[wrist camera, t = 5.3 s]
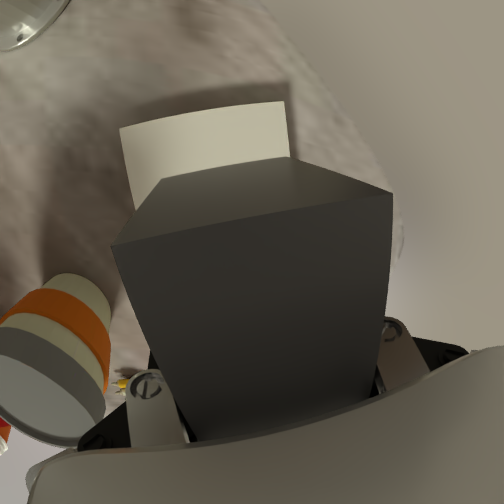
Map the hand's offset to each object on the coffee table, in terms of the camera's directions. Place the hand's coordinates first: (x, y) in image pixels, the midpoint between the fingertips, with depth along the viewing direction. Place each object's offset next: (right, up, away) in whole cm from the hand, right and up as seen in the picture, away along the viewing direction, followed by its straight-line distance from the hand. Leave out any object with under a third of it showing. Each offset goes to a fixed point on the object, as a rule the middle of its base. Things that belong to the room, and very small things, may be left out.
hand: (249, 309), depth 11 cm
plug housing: (0, 0, 0) cm, 0 cm away
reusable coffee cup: (-20, -4, +18) cm, 27 cm away
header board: (-3, +4, +17) cm, 18 cm away
